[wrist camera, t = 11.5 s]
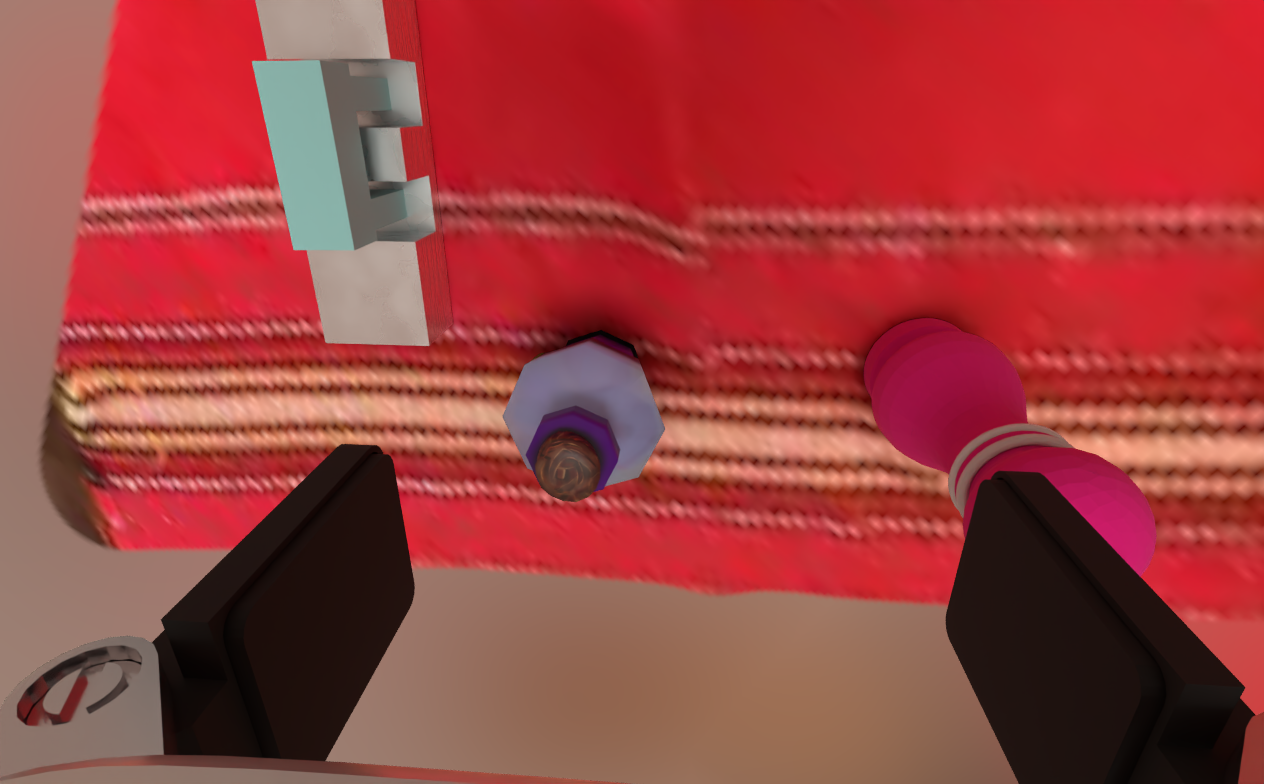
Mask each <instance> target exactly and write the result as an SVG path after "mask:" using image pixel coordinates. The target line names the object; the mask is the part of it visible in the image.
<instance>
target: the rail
mask: <svg viewBox="0 0 1264 784" xmlns="http://www.w3.org/2000/svg"><path fill="white" fill-rule="evenodd" d="M255 1H256V6H257V10H258V15H259V20H260V25H261V30H262V35H263V40H264V44H265V49H266V54H267V59H270V60H280V61H301V60H322V61H331V62H340V63H348V66H349V72H350V76H361V77H374V78H387V81H388V87H389V94H390V101H391V108H392V110H383V111H356V113H357V119H358V125H359V131H360V137H361V143H362V149H363V155H364V161H365V167H366V173H367V179H368V185H369V189H403V190H404V197H405V203H406V210H407V218H405V219H402V220H400V221H397V222H395V223H393V224H390V225H388V226H385V227H383V228H380V229H378V230H376V233H377V239H378V240H377V241H375V242H373V243H370V244H368V245H366V246H364V247H361V248H359V249H357V250H307V254H308V259H309V264H310V269H311V273H312V278H313V283H314V288H315V293H316V298H317V303H318V307H319V312H320V317H321V322H322V327H323V332H324V337H325V342H326V343H347V344H382V345H417V346H430V345H431V344H432V343H433V342H434V341H435V340H436V339H437V338H438V337H439V336H440V335H441V334H443V333H444V332H445V331H446V330H447V329H448V328H449V327H450V326H451V325H452V324H453V318H452V309H451V301H450V292H449V284H448V275H447V267H446V259H445V250H444V242H443V233H442V225H441V216H440V208H439V199H438V191H437V183H436V174H435V166H434V157H433V149H432V140H431V132H430V124H429V115H428V107H427V98H426V90H425V81H424V73H423V64H422V56H421V48H420V39H419V31H418V22H417V14H416V5H415V0H255Z"/></svg>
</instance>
